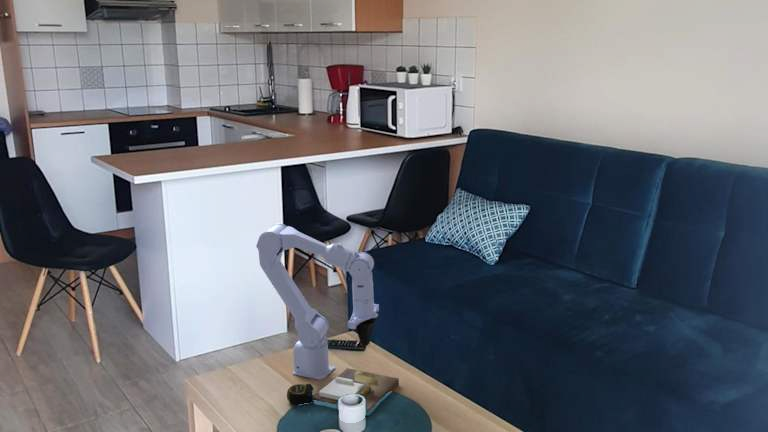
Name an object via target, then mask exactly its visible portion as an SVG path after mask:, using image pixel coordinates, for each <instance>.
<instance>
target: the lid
mask: <svg viewBox="0 0 768 432" xmlns="http://www.w3.org/2000/svg"><path fill="white" fill-rule="evenodd" d="M364 389H365V385H364V384H359V383H354V382H353V380H351V379H347V378H342V377H337V376H336V377H335V378H333V380H331V381H330V382H329V383H328V384H327V385H325V386H324V387H323V388H321V389H320V391H318V393H319V396H321V397H326V398H330V399H335V400H338V399H339V398H340V397H341V396H343V395H346V394H360V392H361V391H362V390H364Z"/></svg>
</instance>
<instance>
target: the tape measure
mask: <svg viewBox="0 0 768 432" xmlns="http://www.w3.org/2000/svg"><path fill="white" fill-rule="evenodd" d="M313 390H314V386H313V385H312V384H311V383H306V384H305V383H304V384H303V383H296V384H293V385H291V386H289V388H288V389H287V392H286V397H287V401H288V403H289V404H290V405H293V406H297V405H299V404H304V403H310V404H312V403H313V397H314V396H313ZM311 402H312V403H311Z"/></svg>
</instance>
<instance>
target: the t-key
mask: <svg viewBox="0 0 768 432" xmlns="http://www.w3.org/2000/svg"><path fill="white" fill-rule="evenodd" d="M372 373H373V372H369V373H368V372H367V371H364V372H363V370H360V369H359V370H358V371H357V372H356V373H354V378H355V381H359V382H363V383H365V384H366V388H365V389H364V390H362V391H361V392H360V395H362V396H365V395H366V394H367V393H369V392H371V385H375V386H379V385H380V384H381V383H382V378H381V375H382V374H379V375H376V374H377V373H374V374H372Z"/></svg>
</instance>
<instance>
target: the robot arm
mask: <svg viewBox="0 0 768 432" xmlns="http://www.w3.org/2000/svg"><path fill="white" fill-rule="evenodd" d="M294 248H297V249H299V250H302V251H306V252H308V253H311V254H314V255H317V256H320V257H322V258H323V259H324V261H325V263H326V264H328V265H330V266H333V267H336V268H338V269H340V270H343V271H346V272H347V273H349V274H350V276H351V279H352V281H351V289H352V306H353V307H352V308H353V309H352V313H351V314H352V315H351V316H350V319H349V320H348V321H347V328H348V329H351V330H355V331H356V334H357V336H358V338H359V342H360V344H361V345H364V346H369V344H370V343H371V338H372V333H373V330H374V327H375V325H376V323H377V317H378V316H379V313H377V312H379V311H380V305H379V304H378V303H375V299H374V295H375V294H374V280H373V271H372V270H373V268H374V267H375V260H374V257H373V256H371V254H369V253H368V252H366V251H361V252H359V251H358V250H355V251H354V250H352V249H349V248H347V247H345V246H343V243H340V242H338V243H331V244H326V243H324V242H321V241H320V240H317V239H315V238H313V237H311V236H309V235H306V234H304V232H303V233H302V232H300V231H298V230H297V229H296V228H294V227H292V226H289V225H288V226H287V225H285V224H284V223H275V224H273V225H271V226H270V228H269V229H266V231H263V233H261V234H260V235H259V237H258V240H257V243H256V249H257V251H258V259H259V260H258V261H259V265H260V268H261V269H262V271H263V272H264V274H265V275H266V277H267V279H268V280H269V282H270V284H271V285H272V286H273V288H274V289H275V290H276V293H277V294H278V295H279V297H280V299H281V300H282V301H283V303H284V305H285V306H286V308H287V309H288V311H289V312H290V314H291V315H292V317H293V318H294V328H295V330H296V332H297V334H298V341H296V343H295V344H294V345H293V352H292V353H293V367H294V368H293V371H292V374H293V375H296V376H301V377H306V378H310V379H316V380H323V379H325V377H327V376H328V375H329V374H330V373H331V372H333V371H334V370H335V369H336V367H335V366H332V365H330V363H329V361H330V360H329V345H328V338H327V336H326V334H327V332H329V328H330V327H329V326H330V323H329V322H328V320H327V318H326V317H324V316H323V315H321V314H320V312H318V311H319V310H317V309H316V308H313V307H311V306H310V305H309V303H308V301H307V300H306V298H305V296H304V295H303V294H302V292H301V290H300V289H299V287H298V286H297V284H296V283H295V281H294V280H293V278H292V276H291V274H289V272H288V271H287V269H286V268H285V265H284V264H283V262H281V261H282V257H283V253H284V251H287V250H290V249H294Z"/></svg>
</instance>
